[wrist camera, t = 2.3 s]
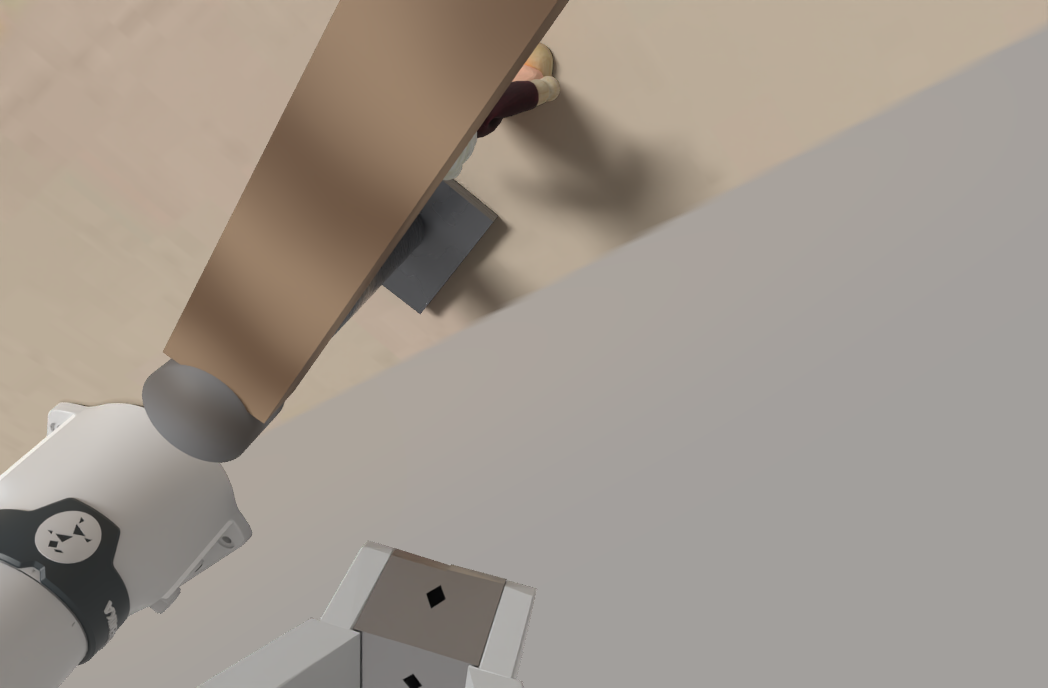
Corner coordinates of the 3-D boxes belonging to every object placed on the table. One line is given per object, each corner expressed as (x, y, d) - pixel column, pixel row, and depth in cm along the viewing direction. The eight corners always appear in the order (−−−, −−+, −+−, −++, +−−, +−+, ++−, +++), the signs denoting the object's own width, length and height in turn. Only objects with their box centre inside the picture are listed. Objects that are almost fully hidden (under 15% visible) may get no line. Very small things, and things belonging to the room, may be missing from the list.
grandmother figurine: (551, 5, 32) (477, 34, 22) (586, 81, 34) (533, 143, 23) (424, 82, 35) (305, 140, 25) (461, 148, 37) (363, 231, 26)
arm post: (425, 306, 42) (285, 489, 28) (321, 226, 41) (119, 374, 27) (497, 215, 38) (376, 376, 24) (384, 122, 37) (184, 233, 23)
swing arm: (260, 439, 27) (223, 480, 25) (172, 378, 26) (128, 415, 24) (594, -34, 16) (578, -32, 14) (459, -157, 15) (422, -173, 13)
